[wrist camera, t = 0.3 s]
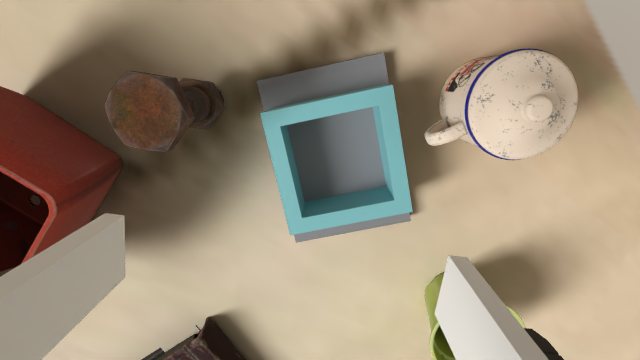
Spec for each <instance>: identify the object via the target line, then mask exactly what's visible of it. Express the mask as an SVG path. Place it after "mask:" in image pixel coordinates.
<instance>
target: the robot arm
mask: <svg viewBox="0 0 640 360" xmlns="http://www.w3.org/2000/svg"><path fill="white" fill-rule="evenodd" d="M124 278H125V218H124V215H117V214H109V213H104V214H103V215H101V216H100V217H98V218H96V219H95V220H93V221H91V222H90V223H88V224H86V225H85V226H83V227H81V228H80V229H78V230H77V231H75V232H73V233H72V234H70V235H68V236H67V237H65V238H63V239H62V240H60V241H58V242H57V243H55V244H54V245H52V246H50V247H49V248H47V249H45V250H44V251H42V252H40V253H39V254H37V255H35V256H34V257H32V258H30V259H29V260H27V261H26V262H24V263H22V264H21V265H19V266H17V267H16V268H14V269H13V268H10V269H7V270H5V271H2V272H0V360H42V359H43V358H44V357H45V356H46V355H47V354H48V353H49V352H50V351H51V350H52V349H53V348H54V347H55V346H56V345H57V344H58V343H59V342H60V341H61V340H62V339H63V338H64V337H65V336H66V335H67V334H68V333H69V332H70V331H71V330H72V329H73V328H74V327H75V326H76V325H77V324H78V323H79V322H80V321H81V320H82V319H83V318H84V317H85V316H86V315H87V314H88V313H89V312H90V311H91V310H92V309H93V308H94V307H95V306H96V305H97V304H98V303H99V302H100V301H101V300H102V299H103V298H104V297H105V296H106V295H107V294H108V293H109V292H110V291H111V290H113V289H114V288H115V287H116V286H117V285H118V284H119V283H120V282H121V281H122V280H123V279H124ZM435 316H436V318H437V320H438V322H439V324H440V327H441V329H442V331H443V333H444V335H445V337H446V339H447V342H448V344H449V346H450V348H451V350H452V352H453V354H454V357H455V359H456V360H564V359H563V358H562V357H561V356H559V355H558V352H557V351H556V350H555V349H554V348H553V346H552V345H551V344H550V343H549V342H548V341H547V340H546V339H545V338H543V337H542V336H541V335H539V334H538V333H537V332H535V331H534V330H533V329H527V328H523V327H522V326H521V324H520V323H519V322H518V321H517V319H516V318H515V317H514V316H513V314H512V313H511V312H510V311H509V309H508V308H507V307H506V306H505V304H504V303H503V302H502V301H501V299H500V298H499V297H498V296H497V294H496V293H495V292H494V291H493V289H492V288H491V287H490V286H489V284H488V283H487V282H486V281H485V279H484V278H483V277H482V275H481V274H480V273H479V272H478V270H477V269H476V268H475V267H474V265H473V264H472V263H471V262H470V260H469V259H468V258H467V257H459V256H451V255H448V260H447V264H446V268H445V272H444V276H443V280H442V284H441V289H440V293H439V297H438V301H437V305H436V309H435Z"/></svg>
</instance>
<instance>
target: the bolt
mask: <svg viewBox="0 0 640 360" xmlns="http://www.w3.org/2000/svg"><path fill="white" fill-rule="evenodd" d="M104 106H105V110H106V114H107V117H108V119H109V121H110V124H111V126H112V128H113V129H114V131H115V133H116V134H117V136H118V137H119V138H120V140H121V141H122V142H123V143H124V144H125V145H126V146H130V147H133V148H139V149H145V150H152V151H166V152H167V151H169V150H172V149H173V148H174V147H175V145H176V144H177V143H178V141H179V140H180V138H181V137H182V135H183V134H184V133H185V131H186V130H187V128H188V127H192V128H199V129H208V128H210V127H211V126H212V125H213V124H214V122H215V121H216V120H217V118H218V117H219V116H220V114H221V113H222V111H223V109H224V108H225V107H224V99H223V97H222V94H221V92H220V91H219V90H218V89H217V88H216V86H215V84H214V83H213V82H207V81H201V80H195V79H187V78H183V79H182V80H181V81H180V82H178V80H177V78H174V77H168V76H161V75H155V74H149V73H142V72H136V71H126V72H125V73H124V74H123V75H122V76H121V77H120V79H119V80H118V81H117V83H116V84H115V85H114V87H113V88H112V90H111V91H110V93H109V95H108V97H107V99H106V102H105V105H104Z"/></svg>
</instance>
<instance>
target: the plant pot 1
mask: <svg viewBox="0 0 640 360" xmlns="http://www.w3.org/2000/svg"><path fill="white" fill-rule="evenodd" d="M122 166H123V162H122V160H121V158H120V157H119V156H118V155H116V154H115V153H113V152H112V151H110V150H109V149H107V148H106V147H104V146H103V145H101V144H100V143H98V142H97V141H95V140H93V139H92V138H90V137H89V136H87V135H86V134H84V133H83V132H81V131H79V130H78V129H76V128H75V127H73V126H72V125H70V124H69V123H67V122H66V121H64V120H63V119H61V118H59V117H58V116H56V115H55V114H53V113H52V112H50V111H49V110H47V109H45V108H44V107H42V106H41V105H39V104H38V103H36V102H35V101H33V100H32V99H30V98H29V97H27V96H24V95H22V94H19V93H17V92H14V91H12V90H9V89H6V88H3V87H1V86H0V272H2V271H5V270H7V269H10V268H13V269H14V268H16V267H17V266H19V265H21V264H22V263H24V262H26V261H27V260H29V259H30V258H32V257H34V256H35V255H37V254H39V253H40V252H42V251H44V250H45V249H47V248H49V247H50V246H52V245H54V244H55V243H57V242H58V241H60V240H62V239H63V238H65V237H67V236H68V235H70V234H72V233H73V232H75V231H77V230H78V229H80V228H81V227H83V226H85V225H86V224H88V223H90V222H91V220H92V218H93V217H94V215H95V213H96V212H97V210H98V208H99V207H100V205H101V203H102V201H103V200H104V198H105V196H106V195H107V193H108V191H109V190H110V188H111V186H112V185H113V183H114V181H115V179H116V178H117V176H118V174H119V173H120V171H121V169H122ZM30 195H36V196H38V197H39V199H40V205H38V206H33V205H32V204H31V203H30V202H29V197H30Z"/></svg>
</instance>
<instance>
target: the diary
mask: <svg viewBox="0 0 640 360" xmlns="http://www.w3.org/2000/svg"><path fill="white" fill-rule="evenodd" d="M196 327H197V325H196ZM197 328H198V327H197ZM198 329H199V328H198ZM199 330H200V329H199ZM142 360H246V359H245V358H244V357H243V356H242V355H241V354H240V352H239V351H238V350H237V349H236V348H235V346H234V345H233V344H232V343H231V342H230V340H229V339H228V338H227V337H226V336H225V334H224V333H223V332H222V331H221V330H220V328H219V327H218V326H217V325H216V323H215V322H214V321H213V320H212V319H211V318H210V317H207V318H206V322H205V325H204V327H203V329H202V330H200V331H199V335H198V337H197V336H196V335H195V334H194V335H192V336H191V337H189V338H187V339H186V340H184V341H183V342H181V343H180V344H178V345H176V346H175V347H173V348H172V349H170V350H168V351H167V352H164V351H163V350H162V349H161V348H159V349H158V350H156V351H155V352H153V353H151V354H150V355H148V356H146V357H145V358H143V359H142Z"/></svg>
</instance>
